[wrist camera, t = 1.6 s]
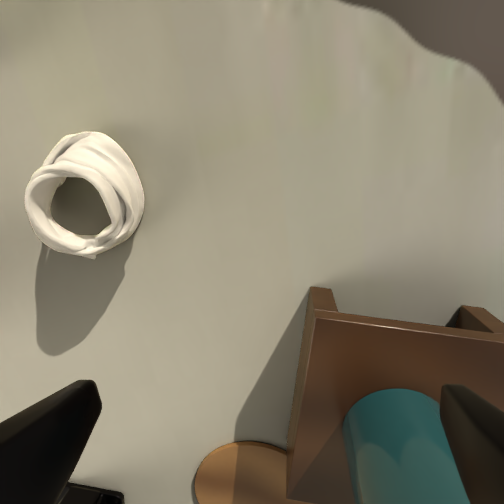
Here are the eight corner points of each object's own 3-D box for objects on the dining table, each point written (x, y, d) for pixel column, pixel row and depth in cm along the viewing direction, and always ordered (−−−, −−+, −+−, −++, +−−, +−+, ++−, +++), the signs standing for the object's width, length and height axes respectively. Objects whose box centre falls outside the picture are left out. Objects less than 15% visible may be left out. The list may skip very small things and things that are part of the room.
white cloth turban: (81, 118, 21) (16, 95, 16) (169, 165, 21) (129, 155, 16) (43, 226, 23) (-26, 233, 18) (124, 272, 22) (75, 292, 18)
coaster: (306, 544, 28) (307, 549, 27) (193, 522, 29) (192, 527, 28) (324, 452, 25) (325, 457, 25) (198, 431, 26) (196, 435, 25)
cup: (436, 481, 19) (516, 655, 12) (333, 463, 20) (356, 621, 13) (464, 396, 17) (573, 545, 11) (351, 380, 18) (387, 511, 11)
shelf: (433, 465, 24) (464, 531, 20) (286, 441, 25) (285, 499, 21) (484, 307, 21) (535, 346, 16) (310, 286, 22) (315, 317, 17)
